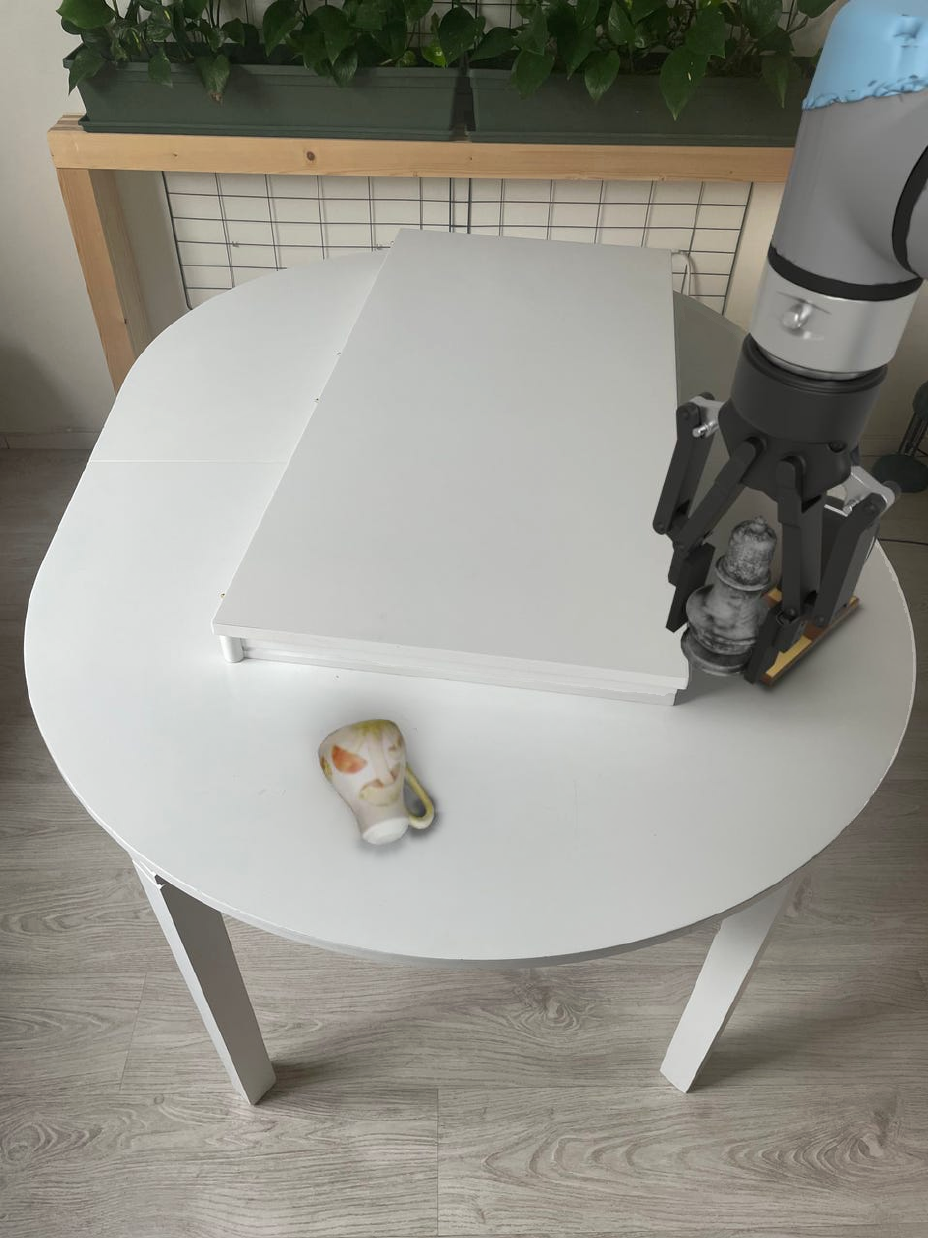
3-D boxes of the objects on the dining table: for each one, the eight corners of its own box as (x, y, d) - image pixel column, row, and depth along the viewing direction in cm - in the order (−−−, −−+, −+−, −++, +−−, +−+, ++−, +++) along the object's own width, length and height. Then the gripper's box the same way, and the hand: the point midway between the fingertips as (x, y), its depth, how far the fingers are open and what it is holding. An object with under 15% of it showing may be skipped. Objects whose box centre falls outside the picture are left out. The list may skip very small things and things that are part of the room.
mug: (353, 876, 73) (306, 771, 69) (349, 811, 82) (307, 716, 78) (443, 842, 73) (400, 736, 69) (428, 782, 82) (390, 685, 78)
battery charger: (851, 601, 94) (891, 513, 86) (836, 622, 92) (875, 533, 84) (788, 571, 97) (821, 483, 89) (771, 590, 95) (804, 501, 87)
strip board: (856, 607, 95) (860, 598, 94) (769, 686, 87) (772, 677, 86) (797, 572, 99) (801, 563, 98) (708, 646, 91) (711, 637, 90)
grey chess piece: (744, 692, 62) (794, 559, 54) (663, 657, 64) (699, 524, 56) (771, 639, 66) (822, 506, 58) (693, 607, 68) (731, 475, 60)
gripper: (631, 304, 51) (582, 602, 68) (958, 451, 42) (809, 755, 59) (710, 264, 55) (645, 556, 72) (1025, 392, 46) (867, 693, 62)
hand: (718, 645), depth 65 cm, fingers closed on grey chess piece, 6 cm apart
